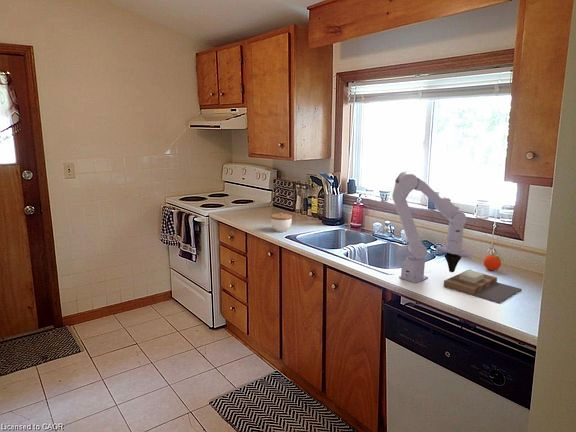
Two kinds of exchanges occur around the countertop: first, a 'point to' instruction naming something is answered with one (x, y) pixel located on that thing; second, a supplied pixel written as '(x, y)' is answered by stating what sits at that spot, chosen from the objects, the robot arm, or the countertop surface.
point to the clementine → (492, 262)
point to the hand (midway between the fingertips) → (451, 271)
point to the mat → (497, 292)
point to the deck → (469, 284)
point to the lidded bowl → (281, 222)
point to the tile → (471, 276)
